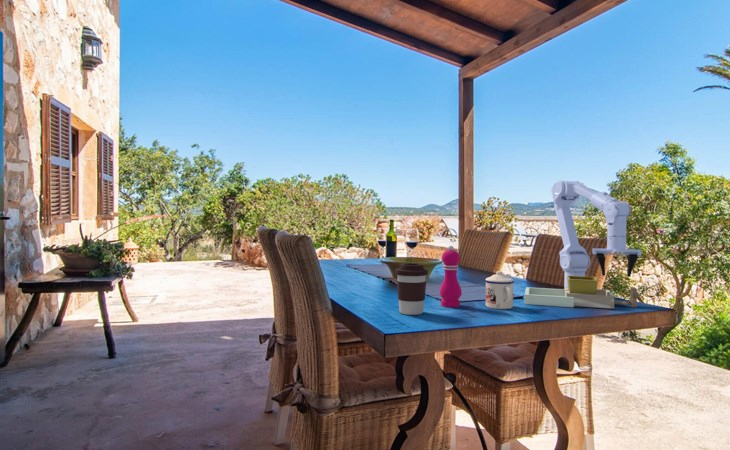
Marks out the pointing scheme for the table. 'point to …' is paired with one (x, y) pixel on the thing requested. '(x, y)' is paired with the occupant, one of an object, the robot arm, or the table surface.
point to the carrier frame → (601, 299)
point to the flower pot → (582, 284)
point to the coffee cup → (411, 288)
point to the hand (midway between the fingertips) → (616, 275)
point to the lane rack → (547, 297)
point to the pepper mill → (450, 279)
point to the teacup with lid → (499, 291)
